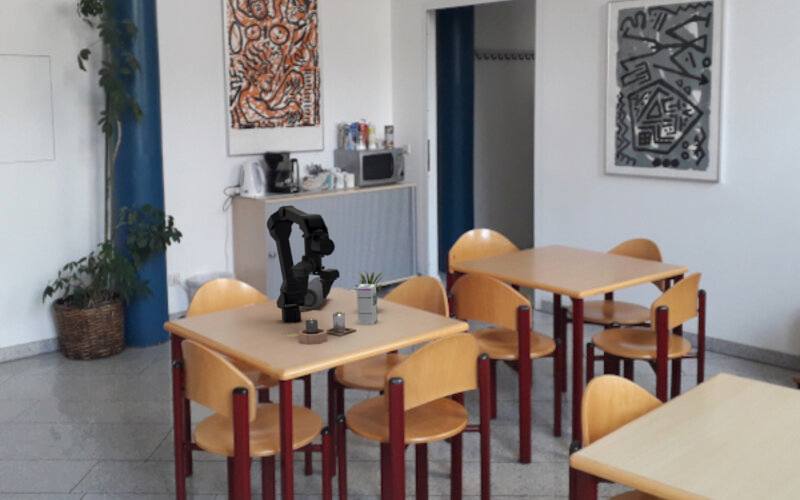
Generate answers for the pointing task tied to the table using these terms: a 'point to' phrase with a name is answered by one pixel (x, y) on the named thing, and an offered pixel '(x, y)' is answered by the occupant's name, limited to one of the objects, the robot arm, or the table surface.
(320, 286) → the bluetooth speaker
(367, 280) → the house plant
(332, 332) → the brown wooden tray
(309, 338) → the pot
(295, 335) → the blue grey board
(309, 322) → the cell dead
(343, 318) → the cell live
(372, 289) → the syrup box
